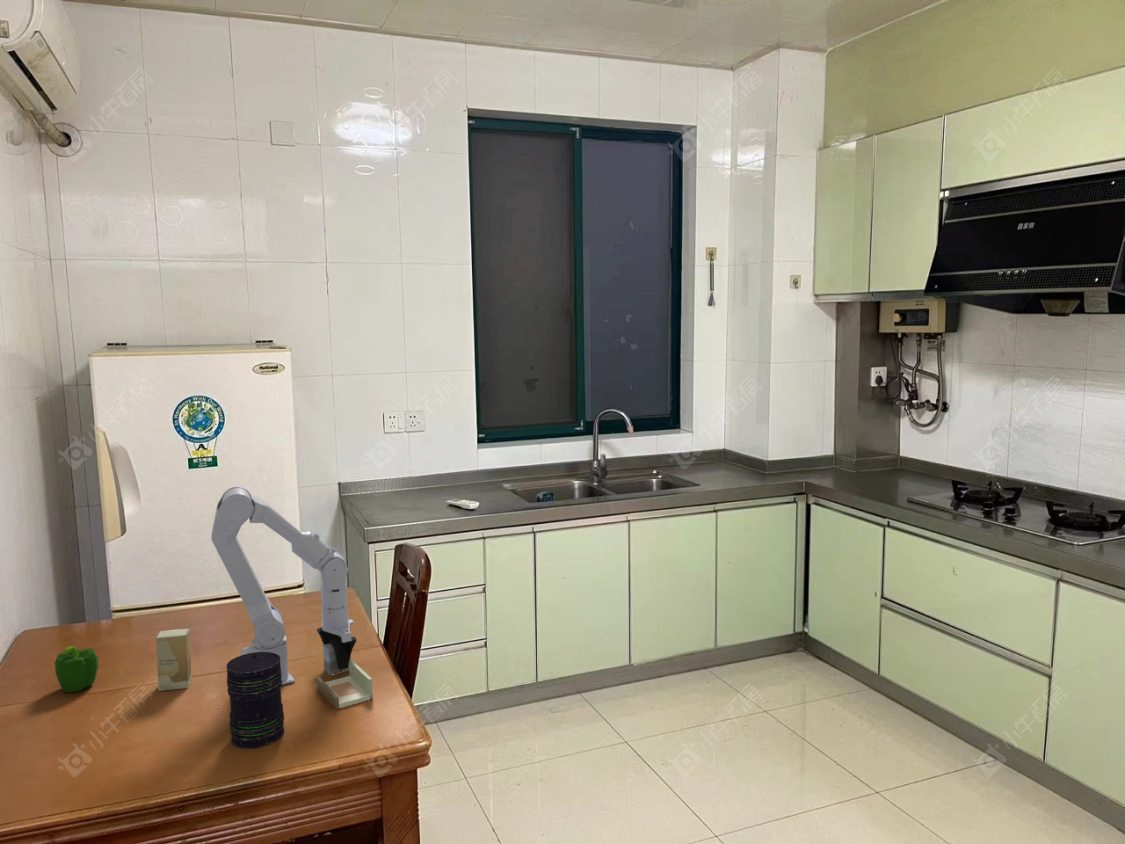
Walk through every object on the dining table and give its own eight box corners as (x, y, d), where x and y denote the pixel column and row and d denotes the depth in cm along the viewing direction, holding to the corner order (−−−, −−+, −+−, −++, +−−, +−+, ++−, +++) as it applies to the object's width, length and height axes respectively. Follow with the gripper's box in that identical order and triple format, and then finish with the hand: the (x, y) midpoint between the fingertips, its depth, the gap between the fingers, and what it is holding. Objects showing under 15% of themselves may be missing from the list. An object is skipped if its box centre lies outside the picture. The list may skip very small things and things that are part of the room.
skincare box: (158, 692, 178) (154, 637, 176) (162, 683, 182) (158, 630, 181) (190, 688, 180) (186, 634, 178) (193, 680, 184) (189, 627, 182)
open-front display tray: (335, 709, 168) (334, 688, 168) (317, 688, 178) (316, 668, 178) (372, 699, 173) (372, 678, 172) (352, 679, 183) (351, 660, 182)
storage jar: (283, 744, 154) (279, 668, 153) (228, 752, 152) (223, 675, 150) (285, 720, 164) (281, 648, 162) (233, 728, 161) (228, 655, 160)
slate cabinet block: (330, 676, 185) (328, 650, 184) (324, 670, 188) (323, 645, 188) (351, 670, 188) (350, 645, 187) (345, 664, 191) (344, 640, 190)
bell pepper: (83, 677, 186) (80, 634, 185) (107, 683, 182) (104, 640, 181) (46, 691, 179) (42, 647, 177) (70, 699, 175) (66, 654, 174)
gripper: (363, 610, 182) (366, 668, 184) (341, 593, 194) (343, 648, 196) (332, 617, 179) (335, 676, 180) (311, 599, 190) (314, 655, 192)
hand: (337, 662), depth 188 cm, fingers open, 7 cm apart
